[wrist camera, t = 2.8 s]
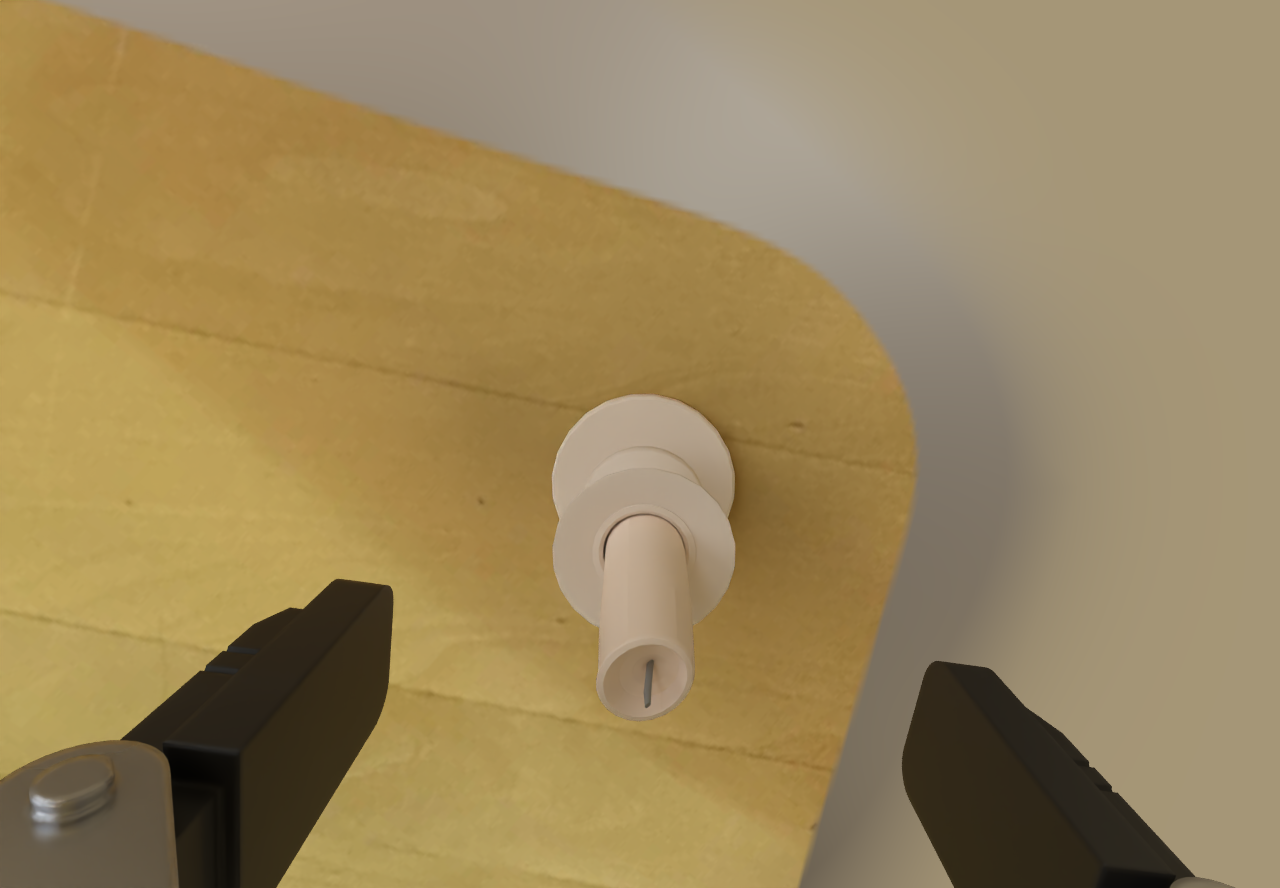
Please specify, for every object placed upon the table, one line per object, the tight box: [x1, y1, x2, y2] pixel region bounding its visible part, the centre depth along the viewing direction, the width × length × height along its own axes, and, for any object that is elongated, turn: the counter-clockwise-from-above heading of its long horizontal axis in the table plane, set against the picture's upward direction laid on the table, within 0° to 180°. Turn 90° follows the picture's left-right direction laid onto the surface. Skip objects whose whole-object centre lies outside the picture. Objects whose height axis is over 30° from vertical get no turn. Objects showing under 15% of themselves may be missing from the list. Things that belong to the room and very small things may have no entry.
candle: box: [552, 394, 735, 721], centre depth 14 cm, size 5×5×10 cm
